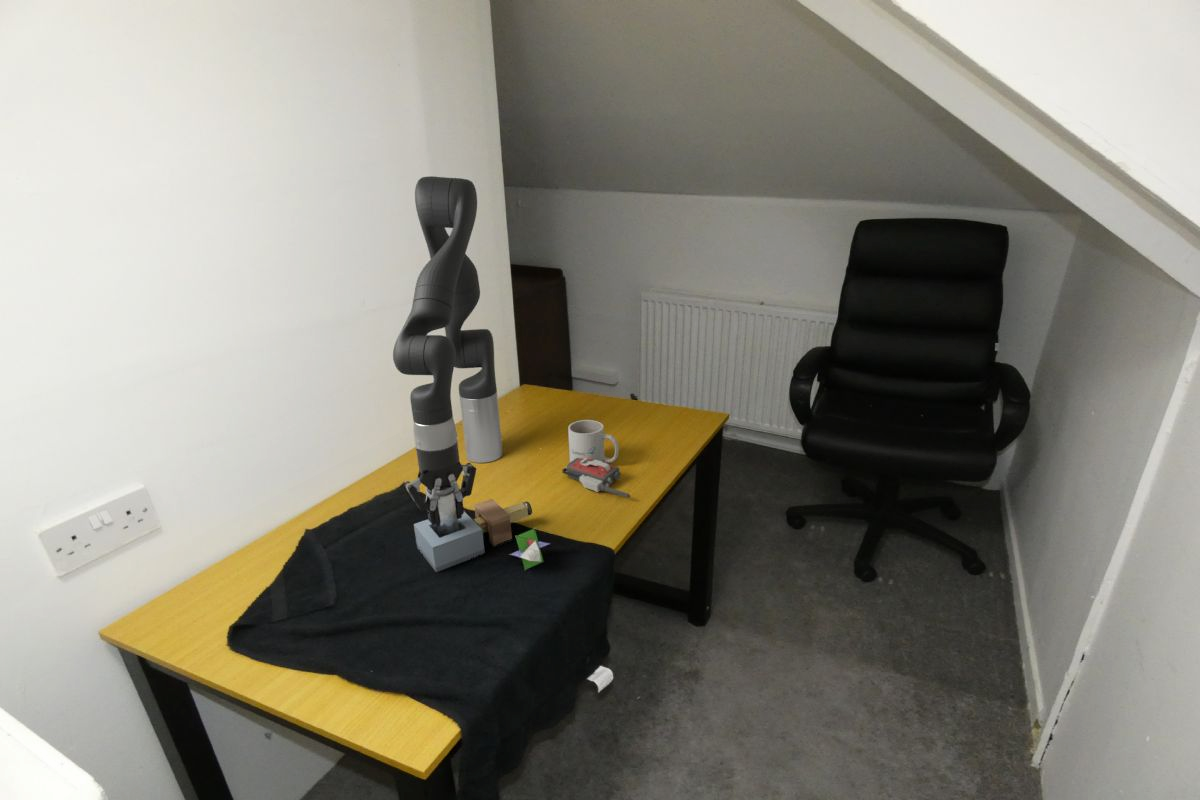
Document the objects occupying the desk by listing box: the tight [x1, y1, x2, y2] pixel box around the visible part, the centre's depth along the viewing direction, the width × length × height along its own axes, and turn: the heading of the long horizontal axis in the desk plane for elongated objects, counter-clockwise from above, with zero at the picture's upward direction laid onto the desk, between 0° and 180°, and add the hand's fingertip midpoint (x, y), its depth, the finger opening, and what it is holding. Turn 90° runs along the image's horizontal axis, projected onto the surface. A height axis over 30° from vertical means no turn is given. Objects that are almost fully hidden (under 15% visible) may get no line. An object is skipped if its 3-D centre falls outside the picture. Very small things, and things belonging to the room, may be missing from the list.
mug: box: [567, 419, 620, 464], centre depth 160 cm, size 12×9×10 cm
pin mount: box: [473, 498, 513, 547], centre depth 134 cm, size 8×4×6 cm, turn 35°
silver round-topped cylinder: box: [430, 486, 459, 538], centre depth 126 cm, size 5×5×12 cm
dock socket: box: [413, 511, 486, 573], centre depth 129 cm, size 10×10×6 cm
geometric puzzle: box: [508, 527, 551, 571], centre depth 124 cm, size 7×7×8 cm
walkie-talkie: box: [561, 458, 631, 499], centre depth 152 cm, size 9×4×20 cm
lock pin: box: [473, 500, 533, 534], centre depth 135 cm, size 3×12×3 cm, turn 125°
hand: (446, 520), depth 127 cm, fingers closed on silver round-topped cylinder, 4 cm apart
